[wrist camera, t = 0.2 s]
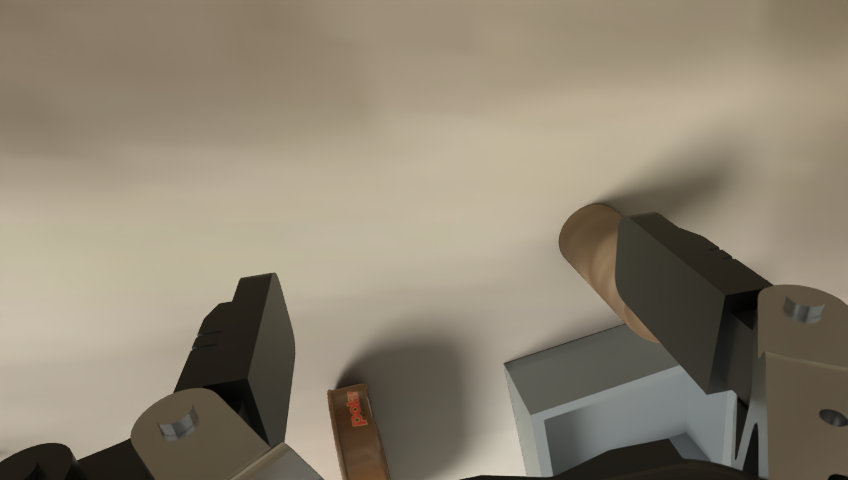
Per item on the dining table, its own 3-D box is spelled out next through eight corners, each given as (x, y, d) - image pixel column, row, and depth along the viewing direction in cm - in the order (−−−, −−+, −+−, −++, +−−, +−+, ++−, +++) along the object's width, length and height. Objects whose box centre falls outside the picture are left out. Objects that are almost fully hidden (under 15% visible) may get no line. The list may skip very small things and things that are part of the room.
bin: (503, 363, 37) (530, 415, 33) (691, 302, 38) (742, 344, 34) (528, 483, 43) (553, 540, 39) (688, 428, 44) (730, 477, 40)
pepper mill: (555, 215, 32) (647, 302, 24) (620, 195, 33) (735, 274, 24) (562, 273, 34) (649, 372, 26) (623, 253, 35) (730, 345, 26)
